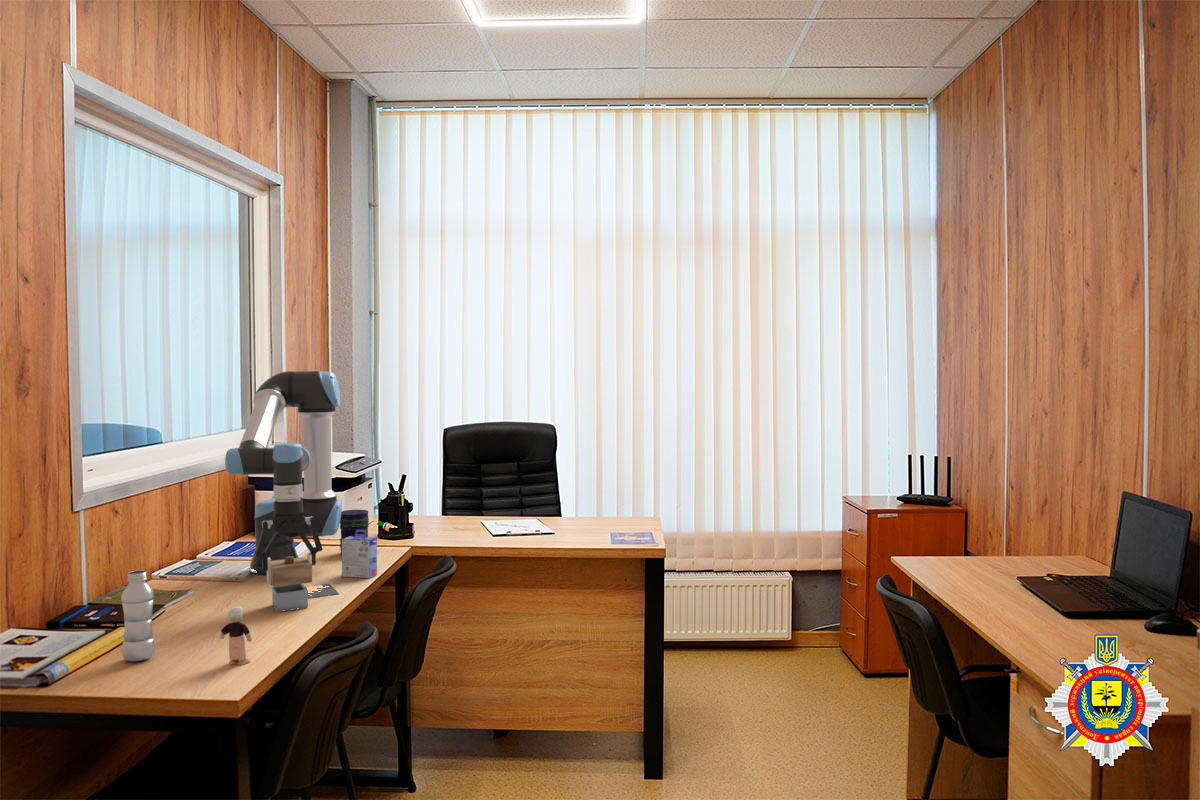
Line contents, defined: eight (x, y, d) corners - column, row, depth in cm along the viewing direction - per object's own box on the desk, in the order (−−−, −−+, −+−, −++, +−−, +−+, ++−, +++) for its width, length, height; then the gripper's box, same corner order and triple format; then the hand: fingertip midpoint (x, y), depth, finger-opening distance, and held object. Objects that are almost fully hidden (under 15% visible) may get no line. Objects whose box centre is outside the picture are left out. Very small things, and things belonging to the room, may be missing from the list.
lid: (267, 579, 232) (267, 555, 231) (305, 574, 237) (304, 551, 236) (273, 587, 223) (272, 563, 223) (312, 582, 228) (311, 558, 228)
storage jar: (355, 558, 287) (355, 515, 287) (333, 555, 292) (333, 513, 291) (375, 552, 296) (374, 510, 296) (353, 549, 301) (353, 508, 300)
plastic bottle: (130, 655, 191) (128, 569, 190) (160, 654, 192) (158, 568, 191) (116, 665, 185) (114, 576, 184) (148, 664, 185) (146, 575, 185)
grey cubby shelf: (272, 604, 232) (272, 586, 231) (302, 600, 236) (302, 583, 235) (277, 612, 225) (276, 593, 224) (307, 607, 229) (307, 589, 228)
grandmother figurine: (257, 659, 189) (256, 604, 188) (250, 665, 185) (249, 609, 184) (222, 659, 188) (221, 604, 188) (215, 666, 184) (214, 609, 184)
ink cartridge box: (378, 574, 265) (377, 529, 264) (370, 578, 260) (369, 532, 259) (349, 573, 267) (349, 528, 266) (341, 577, 262) (340, 531, 261)
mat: (284, 589, 247) (284, 589, 247) (329, 584, 253) (329, 583, 253) (292, 600, 236) (292, 599, 236) (339, 594, 242) (339, 593, 242)
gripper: (245, 504, 220) (247, 587, 221) (333, 498, 231) (334, 577, 232) (242, 500, 227) (243, 581, 227) (327, 494, 238) (328, 571, 239)
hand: (289, 579), depth 230 cm, fingers closed on lid, 10 cm apart
